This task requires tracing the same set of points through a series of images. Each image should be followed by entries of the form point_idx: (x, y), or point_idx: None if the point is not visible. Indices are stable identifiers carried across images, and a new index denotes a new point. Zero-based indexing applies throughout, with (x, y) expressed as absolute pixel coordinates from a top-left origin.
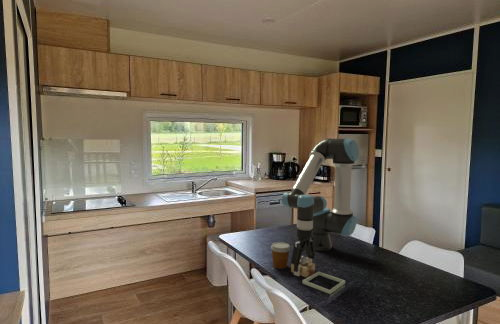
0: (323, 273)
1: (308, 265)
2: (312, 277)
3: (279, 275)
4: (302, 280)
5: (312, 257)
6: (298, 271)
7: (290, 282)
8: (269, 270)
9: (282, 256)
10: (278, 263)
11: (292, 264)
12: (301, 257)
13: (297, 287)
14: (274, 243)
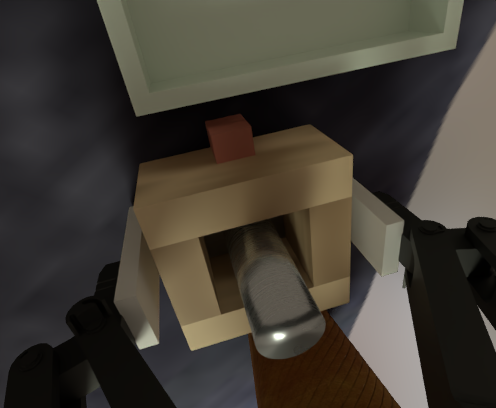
0: (120, 25)
1: (251, 207)
2: (287, 61)
3: (364, 261)
4: (455, 47)
5: (99, 318)
6: (363, 190)
7: (404, 153)
8: (350, 325)
9: (379, 394)
10: (354, 347)
11: (347, 290)
12: (322, 324)
13: (444, 58)
14: None
